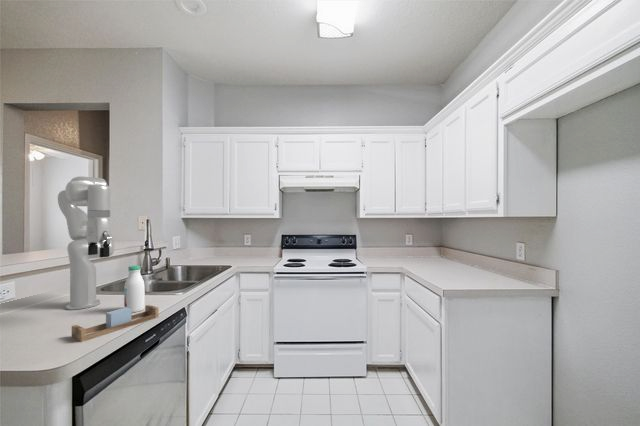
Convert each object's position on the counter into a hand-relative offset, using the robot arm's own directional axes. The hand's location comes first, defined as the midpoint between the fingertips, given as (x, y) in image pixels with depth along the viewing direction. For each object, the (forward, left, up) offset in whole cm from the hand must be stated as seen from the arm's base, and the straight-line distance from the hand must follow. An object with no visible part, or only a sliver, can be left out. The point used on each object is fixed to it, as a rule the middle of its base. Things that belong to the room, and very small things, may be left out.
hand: (98, 255), depth 117 cm
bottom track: (+16, 0, -26) cm, 31 cm away
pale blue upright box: (+16, 0, -26) cm, 31 cm away
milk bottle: (+2, +13, -26) cm, 29 cm away
